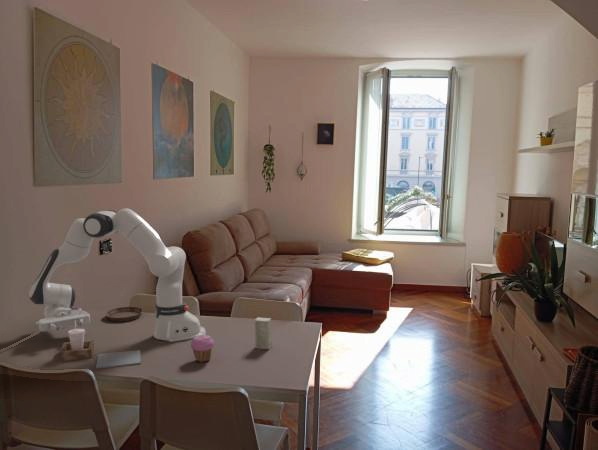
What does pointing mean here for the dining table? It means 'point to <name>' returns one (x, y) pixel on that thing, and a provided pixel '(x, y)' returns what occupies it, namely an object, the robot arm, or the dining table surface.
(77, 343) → the smoothie
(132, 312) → the plant saucer
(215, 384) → the dining table surface
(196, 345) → the cupcake
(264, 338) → the skincare box
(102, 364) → the slate mat
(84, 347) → the walnut holder
